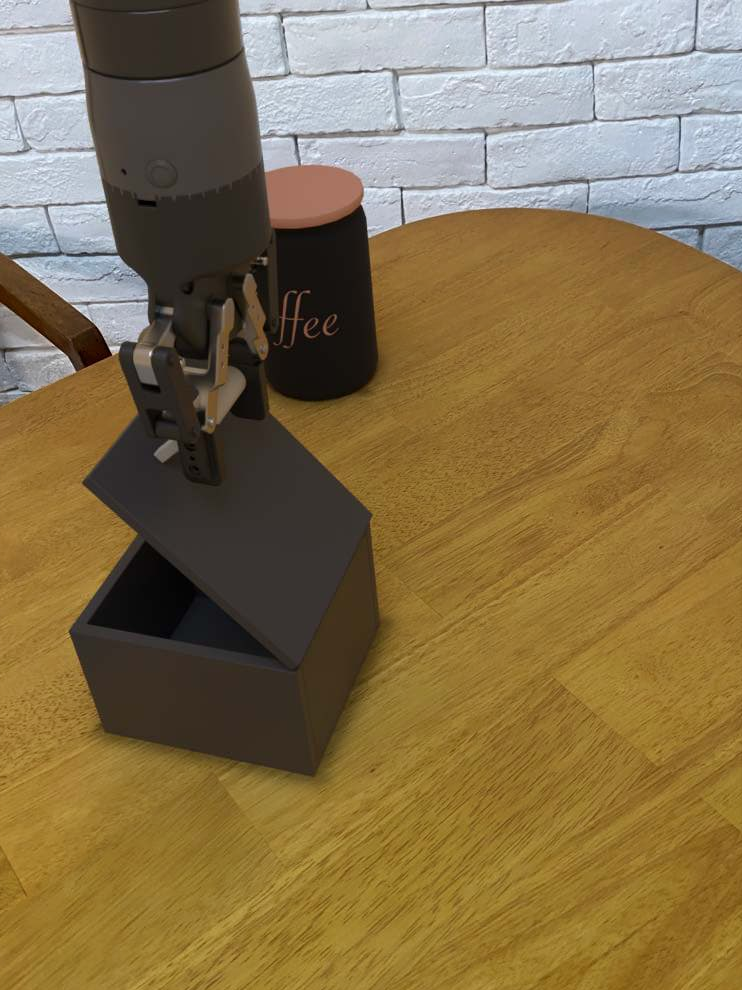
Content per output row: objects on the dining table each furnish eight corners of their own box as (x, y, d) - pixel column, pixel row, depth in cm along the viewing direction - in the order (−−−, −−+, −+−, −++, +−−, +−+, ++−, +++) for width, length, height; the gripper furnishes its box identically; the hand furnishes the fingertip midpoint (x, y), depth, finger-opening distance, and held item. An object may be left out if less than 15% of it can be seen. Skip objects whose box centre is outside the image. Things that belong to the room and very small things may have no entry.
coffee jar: (241, 386, 104) (208, 201, 93) (312, 334, 111) (290, 155, 99) (332, 420, 99) (309, 229, 88) (401, 363, 106) (389, 178, 94)
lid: (80, 483, 59) (131, 441, 55) (190, 347, 68) (239, 304, 65) (290, 670, 64) (348, 641, 61) (365, 519, 73) (418, 487, 70)
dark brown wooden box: (105, 735, 74) (68, 630, 67) (193, 595, 83) (167, 491, 77) (314, 780, 70) (296, 673, 64) (380, 628, 80) (370, 522, 73)
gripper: (173, 91, 58) (219, 369, 69) (26, 213, 48) (108, 517, 59) (310, 102, 56) (334, 386, 67) (188, 232, 46) (240, 541, 57)
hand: (229, 446), depth 63 cm, fingers closed on lid, 5 cm apart
